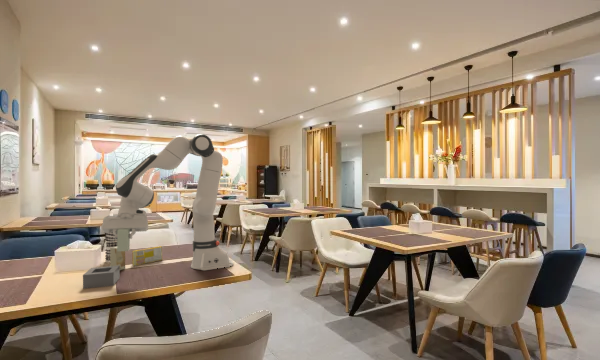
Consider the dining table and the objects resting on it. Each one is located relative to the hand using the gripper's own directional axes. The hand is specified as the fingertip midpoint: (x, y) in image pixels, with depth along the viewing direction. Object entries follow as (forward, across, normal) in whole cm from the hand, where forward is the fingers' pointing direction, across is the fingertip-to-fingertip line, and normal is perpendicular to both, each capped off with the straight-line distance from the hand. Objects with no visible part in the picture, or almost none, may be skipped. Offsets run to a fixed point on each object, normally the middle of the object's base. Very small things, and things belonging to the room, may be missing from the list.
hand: (123, 238), depth 154 cm
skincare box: (-1, -6, +30) cm, 30 cm away
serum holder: (+15, -8, +14) cm, 22 cm away
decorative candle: (-17, -13, +46) cm, 51 cm away
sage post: (+4, 0, +5) cm, 6 cm away
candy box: (-8, +7, +37) cm, 39 cm away
